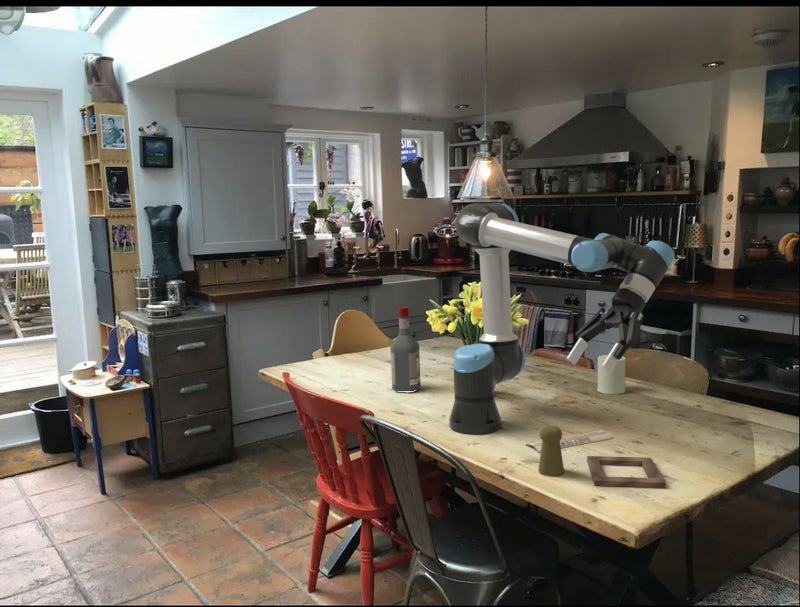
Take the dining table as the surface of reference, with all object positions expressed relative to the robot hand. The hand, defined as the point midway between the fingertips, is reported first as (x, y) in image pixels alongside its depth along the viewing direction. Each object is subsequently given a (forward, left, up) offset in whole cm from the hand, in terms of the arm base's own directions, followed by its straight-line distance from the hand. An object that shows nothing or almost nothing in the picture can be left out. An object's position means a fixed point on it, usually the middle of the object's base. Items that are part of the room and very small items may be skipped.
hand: (587, 365), depth 155 cm
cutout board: (+7, -8, -24) cm, 26 cm away
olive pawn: (-9, -8, -24) cm, 27 cm away
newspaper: (-3, +12, -25) cm, 28 cm away
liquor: (-56, +64, -24) cm, 88 cm away
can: (+15, +65, -24) cm, 71 cm away
